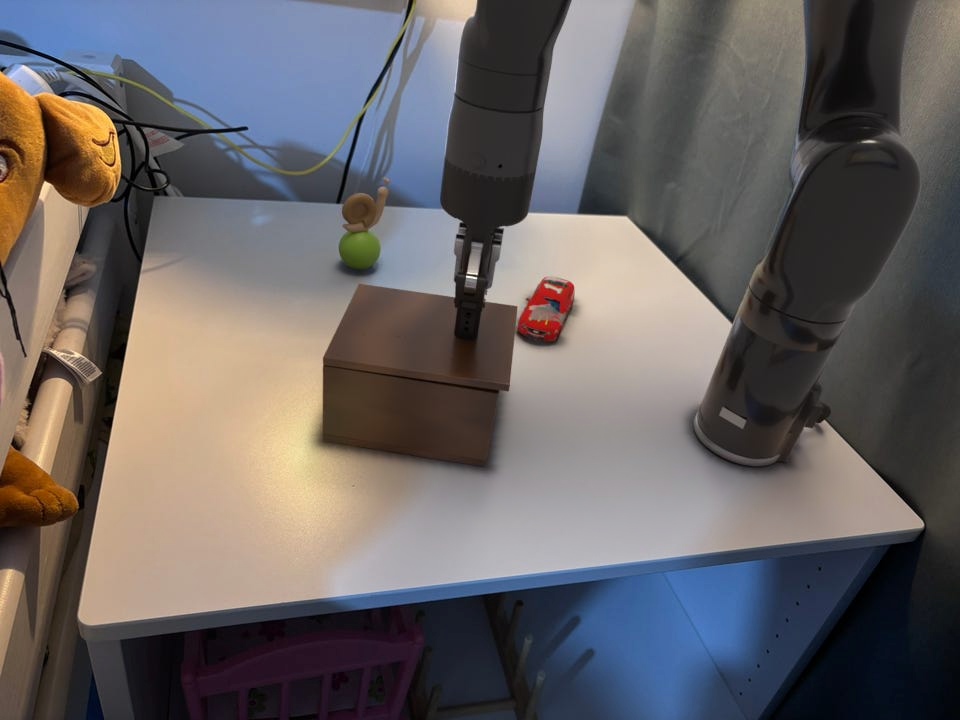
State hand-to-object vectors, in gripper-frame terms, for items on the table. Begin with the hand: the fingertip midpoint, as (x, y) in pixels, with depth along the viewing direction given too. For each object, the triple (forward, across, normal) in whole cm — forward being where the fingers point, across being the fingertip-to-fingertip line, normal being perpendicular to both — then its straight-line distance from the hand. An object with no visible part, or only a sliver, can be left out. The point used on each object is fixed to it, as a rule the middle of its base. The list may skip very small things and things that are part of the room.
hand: (466, 334), depth 68 cm
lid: (+1, 0, +4) cm, 4 cm away
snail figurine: (+10, +28, +16) cm, 34 cm away
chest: (+10, 0, +4) cm, 11 cm away
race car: (+10, +22, -9) cm, 26 cm away
